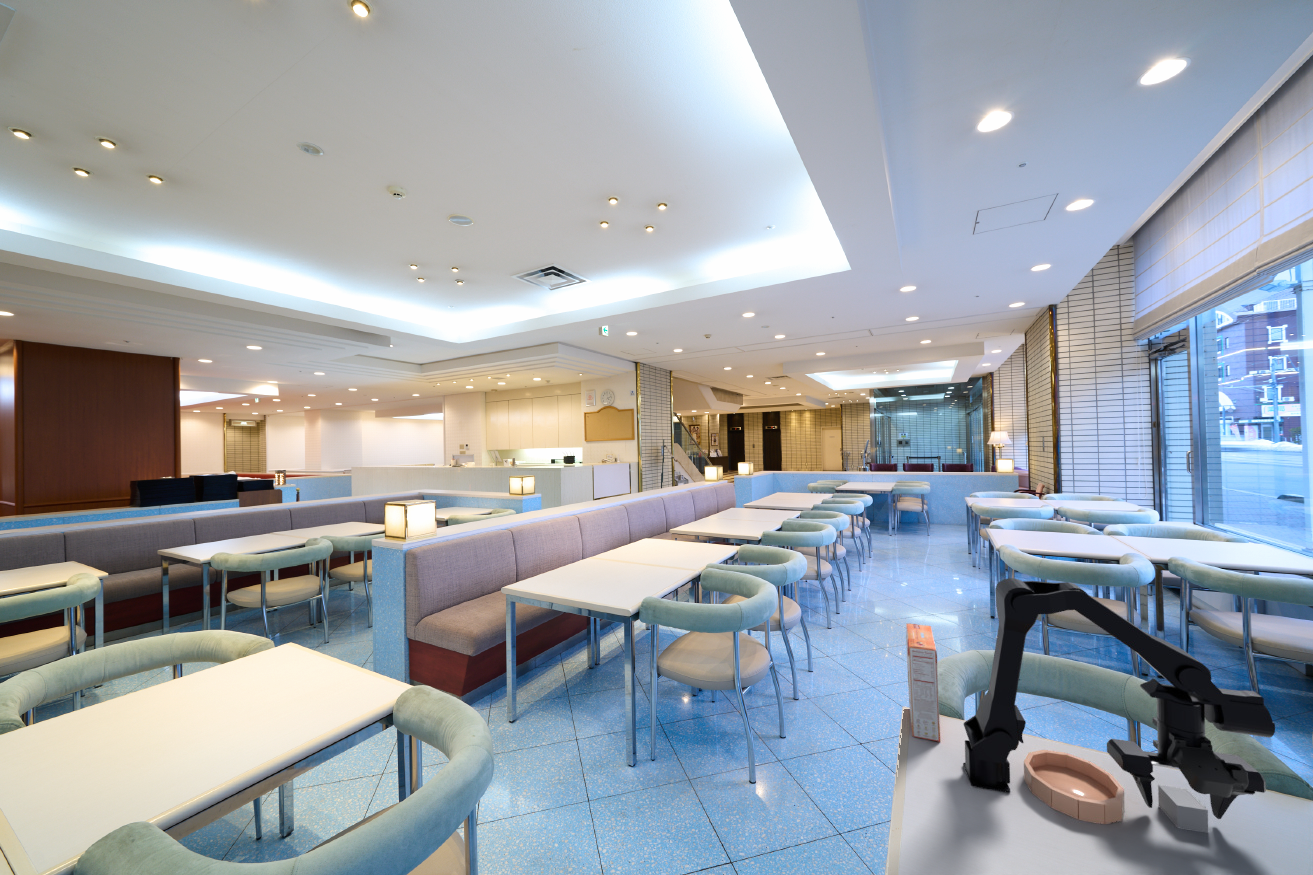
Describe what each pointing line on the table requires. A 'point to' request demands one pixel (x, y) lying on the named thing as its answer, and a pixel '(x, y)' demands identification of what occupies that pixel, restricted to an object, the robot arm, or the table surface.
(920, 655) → the cracker box
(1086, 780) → the bowl
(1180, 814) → the grey rectangular prism
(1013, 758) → the table surface
